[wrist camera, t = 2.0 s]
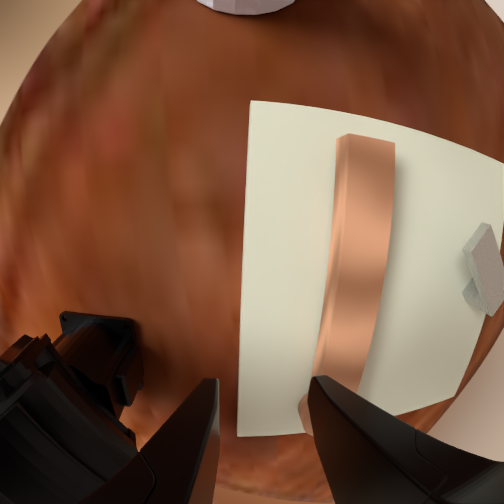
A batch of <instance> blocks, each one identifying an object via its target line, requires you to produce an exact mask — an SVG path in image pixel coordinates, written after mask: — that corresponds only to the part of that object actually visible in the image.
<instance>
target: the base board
mask: <svg viewBox="0 0 504 504" xmlns="http://www.w3.org/2000/svg"><path fill="white" fill-rule="evenodd" d="M348 133H350V134H356V135H361V136H366V137H371V138H376V139H381V140H385V141H390V142H394V143H395V178H394V197H393V210H392V222H391V232H390V240H389V248H388V256H387V263H386V270H385V276H384V282H383V288H382V293H381V299H380V304H379V309H378V314H377V319H376V323H375V328H374V332H373V336H372V340H371V344H370V348H369V352H368V356H367V360H366V364H365V367H364V371H363V374H362V378H361V381H360V384H359V388H358V391H357V394H358V395H359V396H361V397H363V398H364V399H366V400H368V401H369V402H371V403H373V404H374V405H376V406H378V407H379V408H381V409H383V410H384V411H386V412H388V413H390V414H391V415H393V416H396V415H399V414H403V413H406V412H410V411H413V410H417V409H420V408H423V407H426V406H429V405H432V404H435V403H438V402H441V401H443V400H446V399H449V398H451V397H454V395H455V393H456V391H457V389H458V387H459V385H460V383H461V380H462V378H463V376H464V374H465V371H466V369H467V366H468V364H469V361H470V359H471V356H472V354H473V351H474V348H475V346H476V343H477V340H478V337H479V334H480V331H481V328H482V325H483V322H484V318H485V315H486V313H484V312H483V311H481V310H479V309H477V308H475V307H474V306H472V305H470V304H468V303H466V302H465V299H464V297H463V294H462V291H463V289H464V288H465V287H466V286H467V284H468V283H469V282H470V280H471V279H472V278H473V276H472V273H471V270H470V268H469V265H468V263H467V260H466V258H465V255H464V253H463V250H462V249H463V247H464V246H465V245H466V243H467V242H468V241H469V239H470V238H471V237H472V235H473V234H474V232H475V231H476V230H477V228H478V227H479V225H480V224H481V222H483V223H487V224H491V227H492V230H493V232H494V235H495V239H496V242H497V245H498V248H499V251H500V246H501V239H502V231H503V222H504V164H503V163H501V162H499V161H496V160H494V159H492V158H490V157H488V156H485V155H483V154H481V153H478V152H476V151H474V150H471V149H469V148H466V147H464V146H461V145H458V144H456V143H453V142H450V141H448V140H445V139H442V138H439V137H436V136H433V135H430V134H427V133H424V132H421V131H417V130H414V129H411V128H407V127H404V126H400V125H397V124H393V123H389V122H385V121H381V120H377V119H373V118H369V117H364V116H359V115H355V114H350V113H345V112H339V111H334V110H328V109H322V108H316V107H309V106H301V105H294V104H285V103H275V102H264V101H251V103H250V114H249V133H248V153H247V173H246V194H245V216H244V239H243V263H242V288H241V315H240V343H239V374H238V407H237V437H244V436H271V435H285V434H296V433H306V432H305V430H304V428H303V425H302V422H301V419H300V416H299V413H298V405H299V402H300V400H301V399H302V398H303V396H304V395H305V394H307V393H308V390H309V385H310V380H311V375H312V369H313V364H314V358H315V353H316V347H317V341H318V335H319V328H320V322H321V315H322V308H323V301H324V293H325V286H326V277H327V269H328V260H329V250H330V240H331V228H332V216H333V202H334V185H335V164H336V139H337V138H339V137H341V136H344V135H346V134H348Z"/></svg>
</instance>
